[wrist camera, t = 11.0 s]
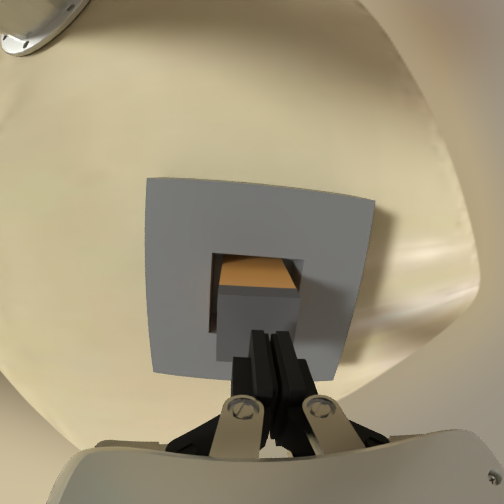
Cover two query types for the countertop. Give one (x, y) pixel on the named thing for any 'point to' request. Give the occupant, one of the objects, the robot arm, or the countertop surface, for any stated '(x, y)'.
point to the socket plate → (253, 244)
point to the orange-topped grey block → (253, 302)
